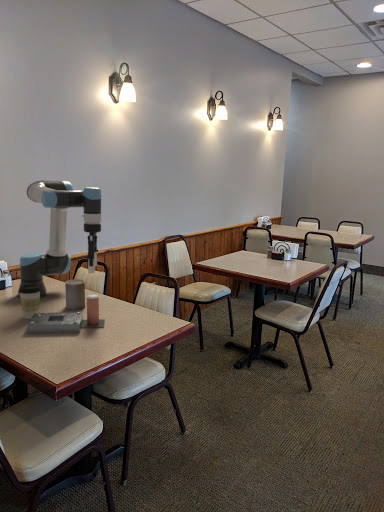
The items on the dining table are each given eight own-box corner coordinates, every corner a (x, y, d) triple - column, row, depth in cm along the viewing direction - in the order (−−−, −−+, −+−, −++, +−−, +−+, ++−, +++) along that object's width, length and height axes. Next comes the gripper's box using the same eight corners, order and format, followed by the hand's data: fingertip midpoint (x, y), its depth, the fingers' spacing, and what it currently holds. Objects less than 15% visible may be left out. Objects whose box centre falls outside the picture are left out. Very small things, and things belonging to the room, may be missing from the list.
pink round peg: (87, 321, 193) (87, 294, 190) (99, 321, 194) (99, 294, 191) (86, 325, 188) (86, 298, 185) (98, 325, 188) (98, 298, 186)
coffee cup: (34, 321, 191) (33, 290, 188) (15, 319, 193) (14, 288, 190) (45, 314, 200) (44, 285, 197) (27, 312, 202) (26, 283, 199)
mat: (83, 320, 195) (83, 319, 195) (104, 320, 196) (104, 319, 196) (80, 328, 185) (80, 327, 185) (103, 327, 187) (103, 327, 187)
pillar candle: (84, 303, 219) (83, 276, 216) (85, 309, 210) (85, 281, 207) (65, 304, 216) (64, 277, 213) (66, 310, 207) (65, 282, 204)
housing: (34, 321, 191) (34, 311, 190) (83, 320, 195) (83, 311, 194) (27, 333, 177) (26, 323, 176) (79, 332, 180) (79, 322, 179)
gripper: (86, 219, 193) (86, 263, 197) (80, 226, 169) (81, 276, 173) (102, 219, 194) (102, 263, 198) (99, 226, 170) (99, 276, 174)
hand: (92, 269), depth 186 cm, fingers open, 13 cm apart
